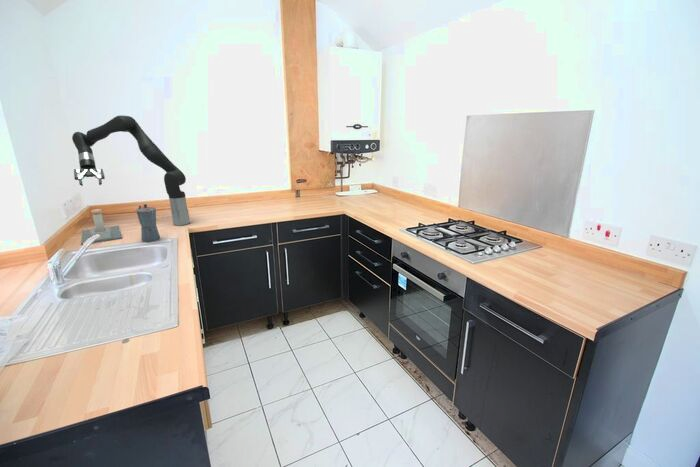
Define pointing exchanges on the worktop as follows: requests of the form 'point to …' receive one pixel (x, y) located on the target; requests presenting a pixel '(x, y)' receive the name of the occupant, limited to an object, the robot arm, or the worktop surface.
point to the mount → (102, 233)
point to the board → (115, 236)
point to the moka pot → (148, 223)
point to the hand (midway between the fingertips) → (91, 184)
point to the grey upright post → (98, 220)
